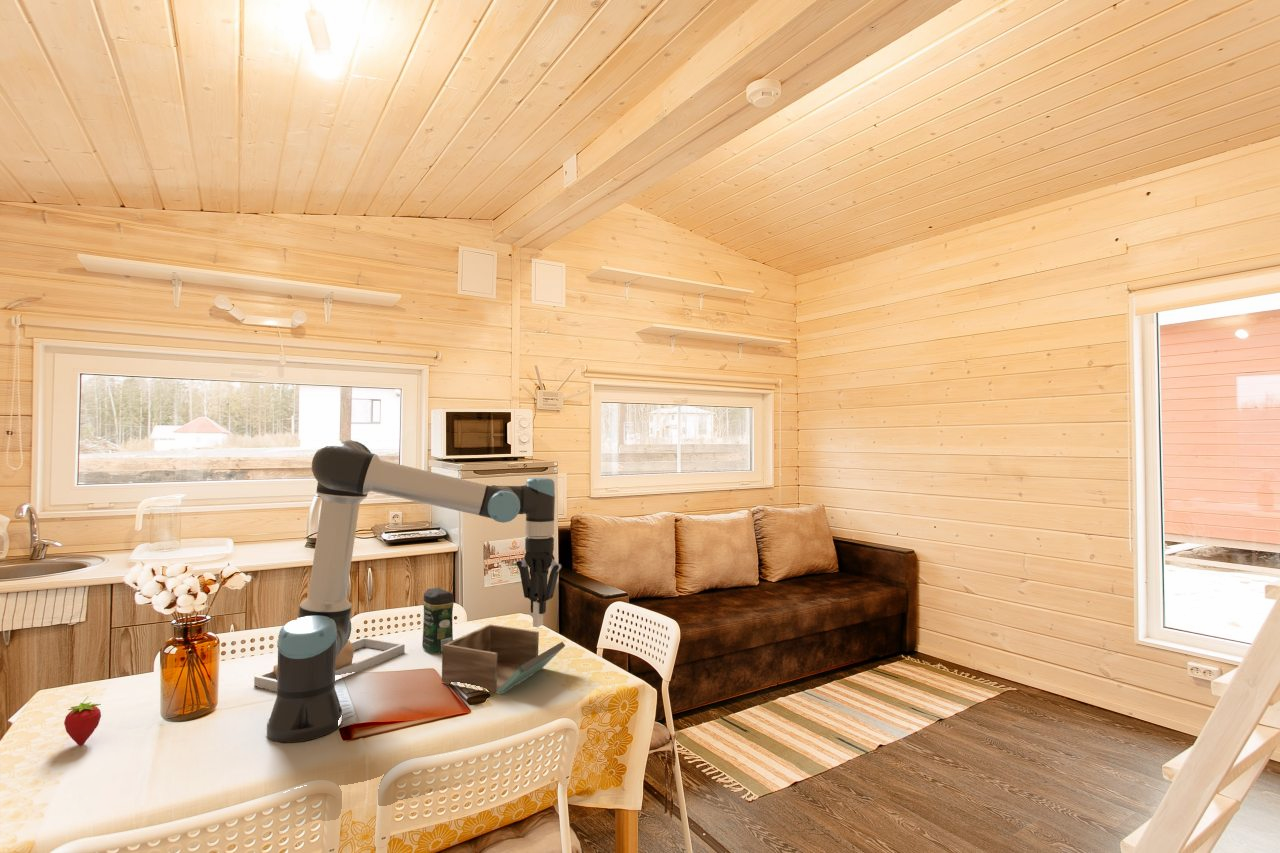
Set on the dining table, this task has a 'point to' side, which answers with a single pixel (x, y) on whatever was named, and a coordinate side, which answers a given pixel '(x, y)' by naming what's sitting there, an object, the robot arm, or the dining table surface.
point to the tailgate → (531, 667)
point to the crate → (488, 656)
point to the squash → (337, 658)
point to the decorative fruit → (82, 721)
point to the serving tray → (391, 651)
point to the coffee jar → (437, 619)
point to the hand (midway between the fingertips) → (537, 625)
